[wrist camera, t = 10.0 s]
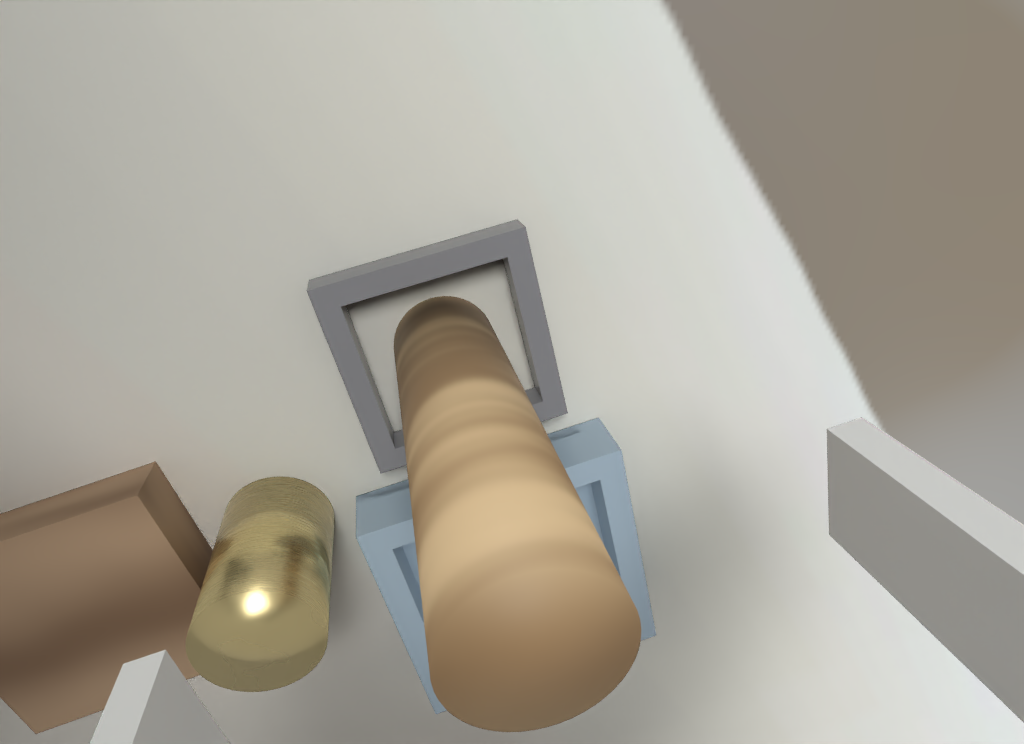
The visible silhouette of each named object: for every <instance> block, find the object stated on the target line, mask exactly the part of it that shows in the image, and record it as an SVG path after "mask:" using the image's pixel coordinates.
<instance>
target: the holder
mask: <svg viewBox="0 0 1024 744" xmlns="http://www.w3.org/2000/svg"><path fill="white" fill-rule="evenodd" d="M500 259H503V261H504V265H505V269H506V273H507V277H508V281H509V285H510V289H511V293H512V297H513V301H514V305H515V309H516V313H517V317H518V321H519V325H520V329H521V333H522V337H523V341H524V345H525V349H526V353H527V357H528V361H529V365H530V369H531V373H532V377H533V381H534V385H535V388H532V389H529V390H525V392H526V394H527V396H528V398H529V400H530V402H531V404H532V406H533V408H534V410H535V412H536V414H537V416H538V418H539V420H540V422H542V421H545V420H548V419H551V418H554V417H557V416H560V415H563V414H567V413H568V412H567V407H566V403H565V399H564V394H563V390H562V385H561V381H560V377H559V372H558V368H557V363H556V359H555V355H554V350H553V346H552V342H551V337H550V333H549V328H548V324H547V320H546V315H545V311H544V306H543V302H542V298H541V293H540V289H539V284H538V280H537V276H536V271H535V267H534V262H533V258H532V254H531V249H530V245H529V240H528V236H527V232H526V227H525V226H524V225H523V224H522V223H521V222H520V221H518V220H514V221H510V222H507V223H503V224H500V225H496V226H493V227H490V228H486V229H483V230H479V231H476V232H472V233H469V234H466V235H462V236H459V237H455V238H452V239H448V240H445V241H442V242H438V243H435V244H431V245H428V246H424V247H421V248H418V249H414V250H411V251H407V252H404V253H400V254H397V255H394V256H390V257H387V258H383V259H380V260H376V261H373V262H370V263H366V264H363V265H359V266H356V267H352V268H349V269H346V270H342V271H339V272H335V273H332V274H328V275H325V276H322V277H318V278H315V279H311V280H309V284H308V288H307V292H308V295H309V297H310V300H311V302H312V305H313V307H314V310H315V312H316V315H317V317H318V320H319V322H320V325H321V327H322V330H323V332H324V335H325V337H326V339H327V342H328V344H329V347H330V349H331V352H332V354H333V357H334V359H335V362H336V364H337V367H338V369H339V372H340V374H341V377H342V379H343V381H344V384H345V386H346V389H347V391H348V394H349V396H350V399H351V401H352V404H353V406H354V409H355V411H356V414H357V416H358V419H359V421H360V424H361V426H362V428H363V431H364V433H365V436H366V438H367V441H368V443H369V446H370V448H371V451H372V453H373V456H374V458H375V461H376V463H377V466H378V468H379V470H380V473H383V472H387V471H390V470H393V469H396V468H399V467H402V466H405V465H407V463H406V454H405V445H404V435H403V429H402V430H399V431H396V432H393V430H392V427H391V424H390V422H389V419H388V416H387V414H386V411H385V408H384V406H383V403H382V401H381V398H380V395H379V393H378V390H377V387H376V385H375V382H374V379H373V377H372V374H371V372H370V369H369V366H368V364H367V361H366V358H365V356H364V353H363V350H362V348H361V345H360V343H359V340H358V337H357V335H356V332H355V329H354V327H353V324H352V321H351V319H350V316H349V314H348V311H347V308H346V306H345V305H348V304H351V303H355V302H358V301H361V300H365V299H368V298H372V297H375V296H378V295H382V294H385V293H388V292H392V291H395V290H399V289H402V288H405V287H409V286H412V285H415V284H419V283H422V282H426V281H429V280H432V279H436V278H439V277H442V276H446V275H449V274H452V273H456V272H459V271H463V270H466V269H469V268H473V267H476V266H479V265H483V264H486V263H490V262H493V261H496V260H500Z"/></svg>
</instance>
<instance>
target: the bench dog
mask: <svg viewBox="0 0 1024 744" xmlns="http://www.w3.org/2000/svg"><path fill="white" fill-rule="evenodd" d="M333 535H334V512H333V508H332V506H331V503H330V502H329V500H328V498H327V497H326V496H325V495H324V494H323V493H322V492H321V491H320V490H319V489H318V488H316V487H315V486H313V485H311V484H310V483H307V482H305V481H303V480H299V479H296V478H290V477H270V478H265V479H261V480H258V481H255V482H252V483H250V484H248V485H247V486H245V487H243V488H242V489H241V490H239V491H238V492H237V493H236V494H235V495H234V496H233V497H232V499H231V500H230V502H229V503H228V505H227V508H226V510H225V513H224V517H223V520H222V523H221V526H220V530H219V533H218V536H217V539H216V542H215V546H214V549H213V552H212V555H211V559H210V562H209V565H208V568H207V572H206V575H205V578H204V581H203V585H202V588H201V591H200V594H199V598H198V601H197V604H196V607H195V611H194V614H193V617H192V620H191V623H190V627H189V630H188V633H187V637H186V654H187V657H188V659H189V661H190V663H191V665H192V667H193V668H194V669H195V670H196V671H197V672H198V673H199V674H200V675H201V676H202V677H203V678H205V679H206V680H208V681H209V682H211V683H213V684H215V685H218V686H220V687H223V688H227V689H230V690H236V691H244V692H260V691H268V690H273V689H277V688H281V687H284V686H287V685H289V684H292V683H294V682H296V681H298V680H299V679H301V678H303V677H304V676H306V675H307V674H308V673H309V672H311V671H312V670H313V669H314V668H315V667H316V666H317V664H318V663H319V662H320V660H321V659H322V657H323V655H324V653H325V650H326V647H327V641H328V624H329V606H330V588H331V571H332V553H333Z"/></svg>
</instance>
